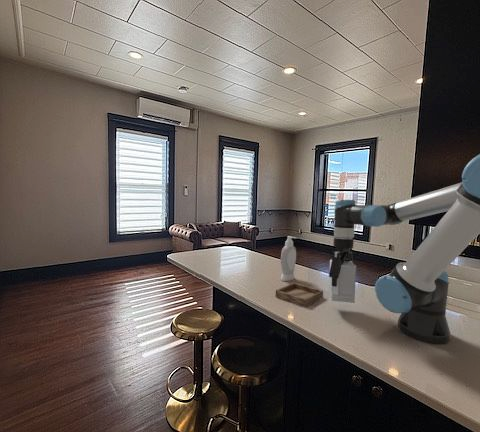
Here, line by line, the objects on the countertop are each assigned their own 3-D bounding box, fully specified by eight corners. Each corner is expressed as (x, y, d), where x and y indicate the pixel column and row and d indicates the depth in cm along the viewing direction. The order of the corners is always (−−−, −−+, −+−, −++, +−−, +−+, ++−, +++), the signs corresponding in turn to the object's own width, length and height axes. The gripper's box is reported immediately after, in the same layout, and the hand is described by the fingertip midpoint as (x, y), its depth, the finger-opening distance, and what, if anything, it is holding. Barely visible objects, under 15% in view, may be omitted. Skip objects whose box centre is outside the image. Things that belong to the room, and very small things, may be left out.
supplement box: (355, 303, 102) (356, 265, 101) (331, 301, 104) (332, 264, 103) (350, 295, 111) (351, 260, 110) (328, 293, 113) (329, 259, 112)
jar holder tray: (322, 297, 122) (323, 291, 122) (305, 307, 111) (305, 300, 110) (293, 288, 133) (294, 282, 132) (275, 296, 121) (275, 290, 121)
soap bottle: (287, 284, 139) (289, 238, 137) (276, 280, 145) (278, 236, 143) (302, 279, 148) (304, 236, 146) (291, 276, 153) (293, 234, 151)
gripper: (346, 234, 117) (344, 281, 119) (320, 239, 100) (318, 295, 101) (363, 236, 112) (361, 285, 114) (340, 242, 95) (337, 300, 96)
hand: (341, 290), depth 108 cm, fingers closed on supplement box, 12 cm apart
